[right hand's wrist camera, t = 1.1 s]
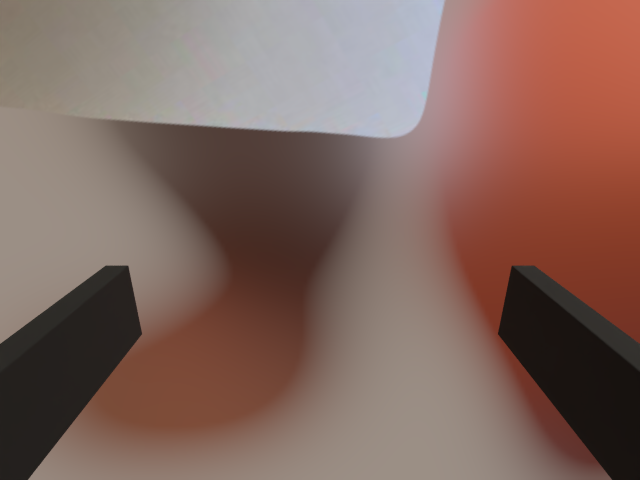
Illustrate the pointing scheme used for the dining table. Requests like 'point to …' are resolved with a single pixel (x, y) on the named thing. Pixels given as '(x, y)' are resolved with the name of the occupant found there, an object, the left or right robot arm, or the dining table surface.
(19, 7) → the dining table surface
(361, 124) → the dining table surface
